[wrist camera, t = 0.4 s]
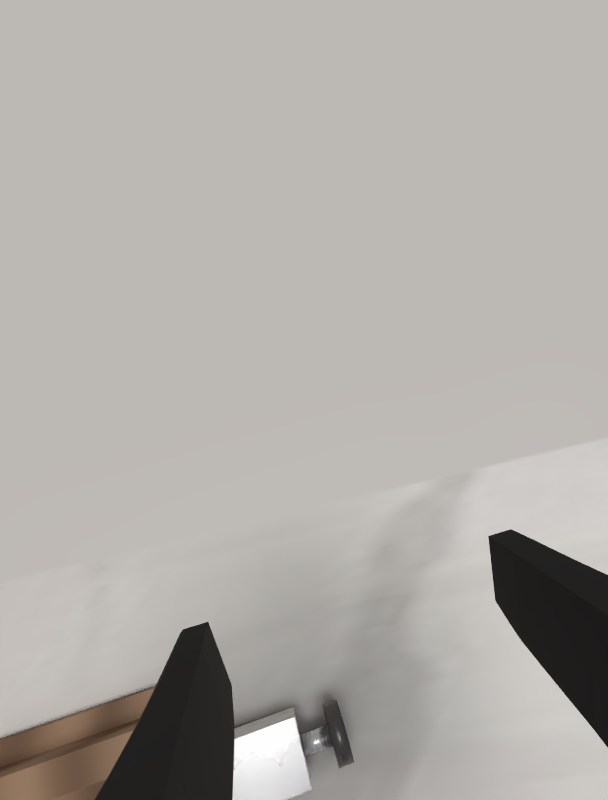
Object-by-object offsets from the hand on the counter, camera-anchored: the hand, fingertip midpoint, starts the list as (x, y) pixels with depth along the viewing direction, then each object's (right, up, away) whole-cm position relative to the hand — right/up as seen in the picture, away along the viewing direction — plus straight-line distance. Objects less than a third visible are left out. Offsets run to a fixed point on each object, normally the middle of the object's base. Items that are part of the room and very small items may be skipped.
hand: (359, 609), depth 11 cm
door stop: (-6, -20, +20) cm, 29 cm away
